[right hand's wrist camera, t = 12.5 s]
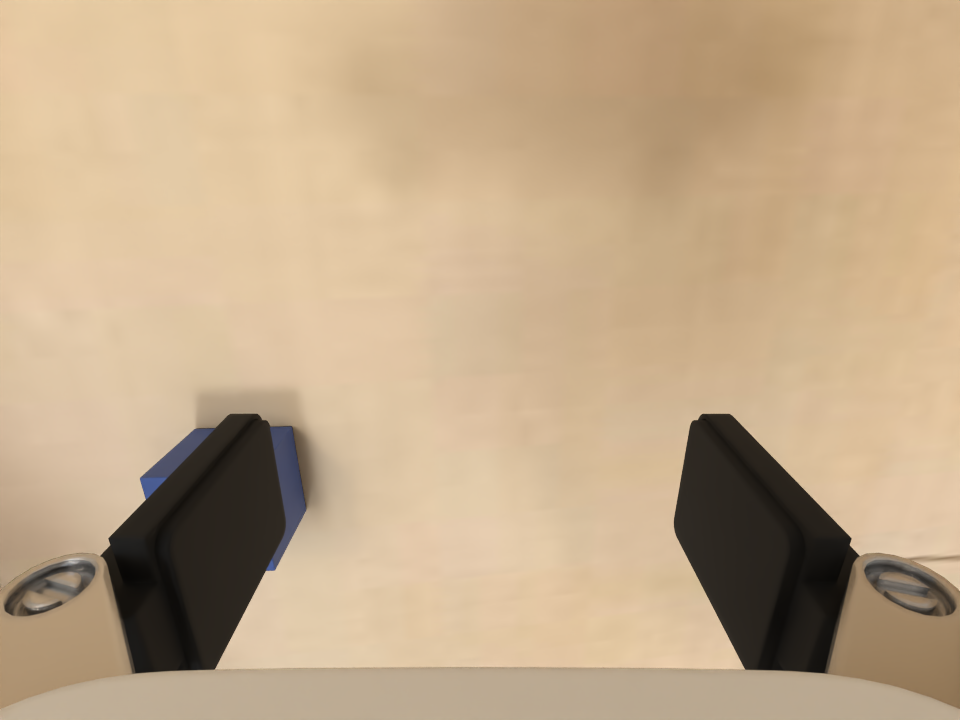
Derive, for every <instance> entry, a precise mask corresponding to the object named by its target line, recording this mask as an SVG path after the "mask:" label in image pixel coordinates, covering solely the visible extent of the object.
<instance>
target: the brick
mask: <svg viewBox="0 0 960 720" xmlns="http://www.w3.org/2000/svg"><path fill="white" fill-rule="evenodd" d="M214 429H215V428H210V429H194V430H193V431H192V432H191V433H190V434H189V435H188V436H187V437H185V438H184V439H183V440H182V441H181V442H180V443H179V444H178V445H176V446H175V447H174V448H173V449H172V450H171V451H170V452H169V453H167V454H166V455H165V456H164V457H163V458H162V459H161V460H160V461H158V462H157V463H156V464H155V465H154V466H153V467H152V468H151V469H150V470H148V471H147V472H146V473H145V474H144V475H143V476H142V477H141V478H140V481H141V484H142V488H143V491H144V494H145V498H146V499H147V498H148V497H149V496H150V495H151V494H152V493H153V492H154V491H155V490H156V489H157V488H158V487H159V486H160V485H161V484H162V483H163V482H164V481H165V480H166V479H167V478H168V477H169V476H170V475H171V474H172V473H173V472H174V471H175V470H176V468H177V467H178V466H179V465H180V464H181V463H182V462H183V461H184V460H185V459H186V458H187V457H188V456H189V455H190V454H191V453H192V452H193V451H194V450H195V449H196V448H197V447H198V446H199V445H200V444H201V443H202V442H203V441H204V440H205V439H206V438H207V437H208V436H209V435H210V434H211V432H212V431H213V430H214ZM270 430H271V436H272V441H273V447H274V453H275V459H276V465H277V470H278V476H279V482H280V488H281V494H282V499H283V505H284V511H285V517H286V529H285V533H284V536H283V538H282V540H281V542H280V544H279V546H278V548H277V550H276V552H275V554H274V556H273V558H272V560H271V562H270V564H269V566H268V567H267V569H266V571H274V570H275V569H276V567H277V565H278V563H279V562H280V560H281V558H282V556H283V554H284V552H285V550H286V548H287V546H288V544H289V542H290V540H291V538H292V536H293V535H294V533H295V531H296V529H297V527H298V525H299V523H300V521H301V519H302V517H303V515H304V513H305V511H306V506H305V500H304V494H303V488H302V482H301V477H300V471H299V465H298V459H297V453H296V447H295V441H294V436H293V430H292V427H291V426H288V427H270Z"/></svg>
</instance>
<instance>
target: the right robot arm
mask: <svg viewBox="0 0 960 720" xmlns="http://www.w3.org/2000/svg"><path fill="white" fill-rule="evenodd" d="M285 529H286V517H285V511H284V505H283V499H282V494H281V488H280V482H279V476H278V470H277V465H276V459H275V453H274V447H273V441H272V436H271V430H270V425H269V423H268V421H266V420H262V419H261V417H260V416H259V415H258V414H230V415H228V416H227V417H226V418H225V419H224V420H223V421H222V422H221V423H220V424H219V425H218V426H217V427H216V428H215V429H214V430H213V431H212V432H211V434H210V435H209V436H208V437H207V438H206V439H205V440H204V441H203V442H202V443H201V444H200V445H199V446H198V447H197V448H196V449H195V450H194V451H193V452H192V453H191V454H190V455H189V456H188V457H187V458H186V459H185V460H184V461H183V462H182V463H181V464H180V465H179V466H178V467H177V468H176V470H175V471H174V472H173V473H172V474H171V475H170V476H169V477H168V478H167V479H166V480H165V481H164V482H163V483H162V484H161V485H160V486H159V487H158V488H157V489H156V490H155V491H154V492H153V493H152V494H151V495H150V496H149V497H148V498H147V499H146V500H145V501H144V502H143V503H142V505H141V506H140V507H139V508H138V509H137V510H136V511H135V512H134V513H133V514H132V515H131V516H130V517H129V518H128V519H127V520H126V521H125V522H124V523H123V524H122V525H121V526H120V527H119V528H118V529H117V530H116V531H115V532H114V533H113V534H112V535H111V536H110V537H109V538H108V539H109V542H110V546H109V547H108V548H107V550H106V551H105V552H104V553H103V554H102V555H101V556H98V555H96V554H91V553H77V554H70V555H65V556H62V557H58V558H55V559H52V560H49V561H46V562H44V563H42V564H40V565H37V566H35V567H33V568H31V569H29V570H28V571H26V572H24V573H23V574H21V575H19V576H18V577H16V578H15V579H14V580H12V581H11V582H10V583H9V584H7V585H6V586H5V587H4V588H3V589H2V590H1V591H0V720H960V591H959V590H958V589H957V588H956V587H955V586H954V585H953V584H951V583H950V582H949V581H948V580H946V579H945V578H944V577H942V576H941V575H939V574H937V573H936V572H934V571H932V570H931V569H929V568H927V567H925V566H923V565H920V564H918V563H916V562H914V561H911V560H908V559H905V558H902V557H898V556H895V555H890V554H883V553H869V554H864V555H862V556H859V555H858V554H857V553H856V552H855V551H854V550H853V548H852V547H851V546H850V542H851V539H852V538H851V537H850V536H849V535H848V534H847V533H846V532H845V531H844V530H843V529H842V528H841V527H840V526H839V525H838V524H837V523H836V522H835V521H834V520H833V519H832V518H831V517H830V516H829V515H828V514H827V513H826V512H825V511H824V510H823V509H822V508H821V507H820V506H819V505H818V503H817V502H816V501H815V500H814V499H813V498H812V497H811V496H810V495H809V494H808V493H807V492H806V491H805V490H804V489H803V488H802V487H801V486H800V485H799V484H798V483H797V482H796V481H795V480H794V479H793V478H792V477H791V476H790V475H789V474H788V473H787V472H786V471H785V470H784V468H783V467H782V466H781V465H780V464H779V463H778V462H777V461H776V460H775V459H774V458H773V457H772V456H771V455H770V454H769V453H768V452H767V451H766V450H765V449H764V448H763V447H762V446H761V445H760V444H759V443H758V442H757V441H756V440H755V439H754V438H753V437H752V436H751V435H750V434H749V432H748V431H747V430H746V429H745V428H744V427H743V426H742V425H741V424H740V423H739V422H738V421H737V420H736V419H735V418H734V417H733V416H732V415H730V414H702V415H701V416H700V417H699V419H698V420H694V421H692V423H691V425H690V430H689V436H688V441H687V447H686V453H685V459H684V465H683V470H682V476H681V482H680V488H679V494H678V499H677V505H676V511H675V517H674V529H675V533H676V536H677V538H678V540H679V542H680V544H681V546H682V548H683V550H684V552H685V554H686V556H687V558H688V560H689V562H690V564H691V566H692V567H693V569H694V571H695V573H696V575H697V577H698V579H699V581H700V583H701V585H702V587H703V589H704V591H705V593H706V595H707V596H708V598H709V600H710V602H711V604H712V606H713V608H714V610H715V612H716V614H717V616H718V618H719V620H720V622H721V624H722V626H723V627H724V629H725V631H726V633H727V635H728V637H729V639H730V641H731V643H732V645H733V647H734V649H735V651H736V653H737V655H738V656H739V658H740V660H741V662H742V664H743V666H744V668H745V670H734V669H676V668H541V667H419V668H284V669H226V670H215V668H216V666H217V664H218V662H219V660H220V658H221V656H222V655H223V653H224V651H225V649H226V647H227V645H228V643H229V641H230V639H231V637H232V635H233V633H234V631H235V629H236V627H237V626H238V624H239V622H240V620H241V618H242V616H243V614H244V612H245V610H246V608H247V606H248V604H249V602H250V600H251V598H252V596H253V595H254V593H255V591H256V589H257V587H258V585H259V583H260V581H261V579H262V577H263V575H264V573H265V571H266V569H267V567H268V566H269V564H270V562H271V560H272V558H273V556H274V554H275V552H276V550H277V548H278V546H279V544H280V542H281V540H282V538H283V536H284V533H285Z"/></svg>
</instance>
